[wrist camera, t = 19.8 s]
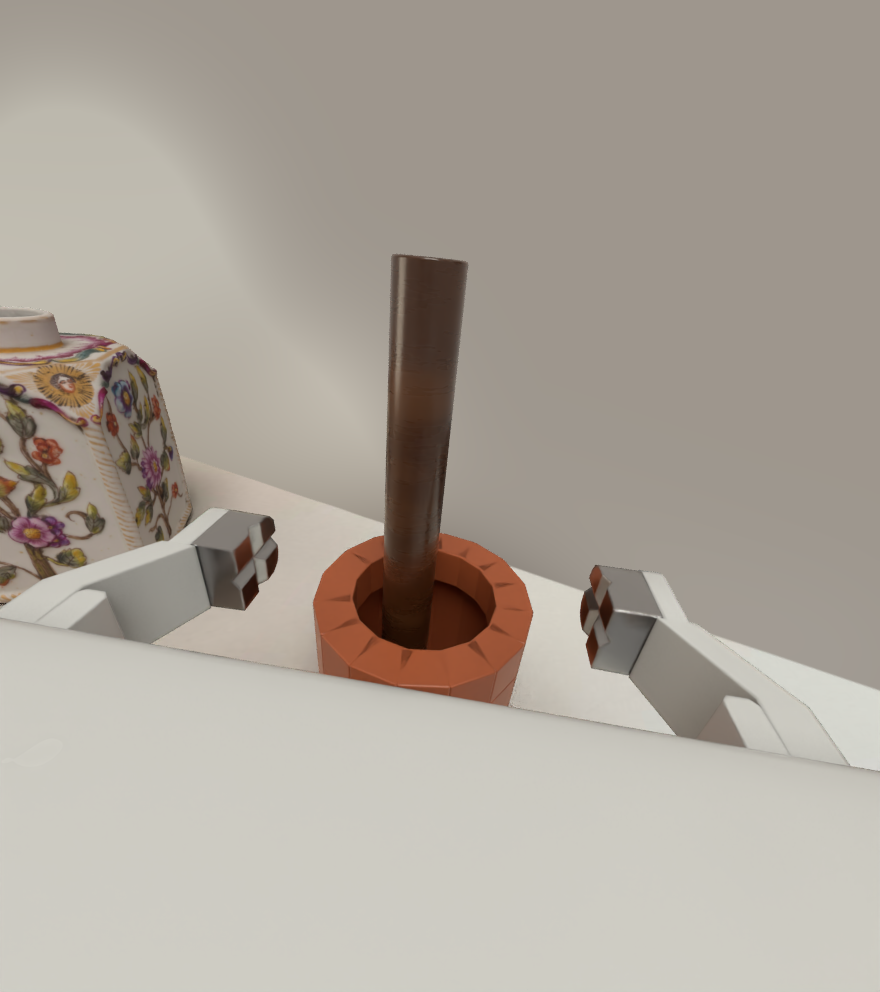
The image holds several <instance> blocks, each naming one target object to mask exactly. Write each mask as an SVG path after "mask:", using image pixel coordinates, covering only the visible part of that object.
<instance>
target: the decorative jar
mask: <svg viewBox="0 0 880 992" xmlns="http://www.w3.org/2000/svg"><path fill="white" fill-rule="evenodd" d="M191 511H192V506H191V502H190V499H189V495H188V490H187V486H186V482H185V477H184V473H183V469H182V464H181V461H180V457H179V453H178V450H177V445H176V441H175V438H174V434H173V431H172V427H171V423H170V419H169V416H168V412H167V409H166V405H165V401H164V399H163V395H162V392H161V389H160V385H159V382H158V378H157V371H156V370H155V369H154V368H152V367H150V365H149V364H148V363H146V362H145V361H144V360H142V359H141V358H140V357H139V356H137V355H136V354H135V353H134V352H133V351H131V349H129V348H128V347H126V346H124V345H121V344H119V343H117V342H116V341H114V340H111V339H108V338H105V337H103V336H95V335H86V334H70V333H59V332H58V329H57V326H56V322H55V319H54V316H53V314H52V313H50V312H47V311H44V310H39V309H33V308H23V307H2V306H0V603H8V602H10V601H11V600H13V599H14V598H16V597H17V596H19V595H20V594H22V593H23V592H25V591H26V590H28V589H29V588H30V587H32V586H33V585H35V584H36V583H38V582H39V581H41V580H42V579H45V578H49V577H52V576H55V575H58V574H61V573H64V572H67V571H70V570H73V569H76V568H79V567H82V566H85V565H88V564H92V563H95V562H98V561H101V560H104V559H107V558H110V557H113V556H116V555H119V554H122V553H125V552H128V551H131V550H135V549H138V548H141V547H144V546H147V545H150V544H153V543H156V542H159V541H169V540H171V539H172V538H173V537H174V536H176V535H177V534H178V533H179V532H180V531H182V530H183V528H184V526H185V524H186V522H187V519H188V517H189V515H190V513H191Z"/></svg>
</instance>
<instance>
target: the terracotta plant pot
mask: <svg viewBox="0 0 880 992" xmlns="http://www.w3.org/2000/svg"><path fill="white" fill-rule="evenodd" d="M383 562H384V536H378V537H374V538H372V539H370V540H368V541H365V542H363V543H361V544H359V545H357V546H355V547H352V548H350V549H348V550H347V551H345V552H344V553H343V554H342V555H341V556H340V557H339V558H338V559H337V560H336V561H335V562H334V563H333V564H332V565H331V566H330V567H329V568H328V569H327V570H326V571H325V572H324V573H323V575H322V578H321V581H320V584H319V586H318V589H317V592H316V595H315V598H314V601H313V609H314V620H315V632H316V643H317V655H318V667H319V673H321V674H327V675H332V676H338V677H344V678H349V679H355V680H361V681H366V682H372V683H378V684H384V685H389V686H395V687H401V688H406V689H412V690H418V691H423V692H429V693H435V694H440V695H446V696H452V697H458V698H463V699H469V700H475V701H480V702H486V703H492V704H498V705H503V706H508V705H509V702H510V698H511V694H512V691H513V687H514V683H515V680H516V676H517V673H518V669H519V665H520V662H521V658H522V655H523V651H524V647H525V644H526V640H527V636H528V632H529V628H530V624H531V621H532V617H533V610H532V607H531V604H530V600H529V597H528V593H527V590H526V587H525V584H524V583H523V581H522V580H521V579H520V578H519V577H518V576H517V575H516V573H515V572H514V571H513V570H512V569H511V568H510V566H509V565H508V564H507V563H506V562H505V561H504V560H503V559H502V558H500V557H498V556H497V555H495V554H493V553H492V552H490V551H488V550H487V549H485V548H483V547H482V546H480V545H478V544H477V543H474V542H471V541H467V540H464V539H460V538H458V537H454V536H451V535H448V534H442V533H439V542H438V552H437V561H436V570H435V580H434V589H433V598H432V608H431V617H430V626H429V636H428V645H427V650H419V649H407V648H404V647H402V646H399V645H397V644H394V643H392V642H389V641H386V640H384V639H381V638H382V600H383Z"/></svg>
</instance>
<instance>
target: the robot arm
mask: <svg viewBox="0 0 880 992" xmlns="http://www.w3.org/2000/svg"><path fill="white" fill-rule="evenodd" d="M274 532H275V525H274V520H273V519H272V518H271V517H270V516H265V515H259V514H254V513H248V512H242V511H236V510H230V509H223V508H216V507H215V508H209V509H208V510H207V511H205V512H204V513H203V514H202V515H200V516H199V517H198V518H197V519H195V520H194V521H193V522H192V523H190V524H189V525H188V526H187V527H185V528H184V529H183V530H182V531H180V532H179V533H178V534H177V535H176V536H174V537H173V538H172V539H171V540H169V541H159V542H156V543H153V544H150V545H147V546H144V547H141V548H138V549H135V550H131V551H128V552H125V553H122V554H119V555H116V556H113V557H110V558H107V559H104V560H101V561H98V562H95V563H92V564H88V565H85V566H82V567H79V568H76V569H73V570H70V571H67V572H64V573H61V574H58V575H55V576H52V577H49V578H45V579H42V580H41V581H39V582H38V583H36V584H35V585H33V586H32V587H30V588H29V589H28V590H26V591H25V592H23V593H22V594H20V595H19V596H17V597H16V598H14V599H13V600H11V601H10V602H8V603H7V604H5V605H4V606H2V607H1V608H0V992H880V771H875V770H870V769H864V768H858V767H852V766H850V764H849V763H848V762H847V760H846V759H845V757H844V756H843V754H842V753H841V752H840V750H839V749H838V747H837V746H836V745H835V743H834V742H833V740H832V739H831V738H830V736H829V735H828V733H827V732H826V730H825V729H824V728H823V726H822V725H821V723H820V722H819V721H818V719H817V718H816V716H815V715H814V713H813V712H812V711H811V709H810V708H809V707H808V706H806V705H805V704H804V703H802V702H801V701H800V700H798V699H797V698H796V697H794V696H793V695H792V694H790V693H789V692H788V691H786V690H785V689H784V688H782V687H781V686H780V685H778V684H777V683H776V682H774V681H773V680H772V679H770V678H769V677H768V676H766V675H765V674H764V673H762V672H761V671H760V670H758V669H757V668H756V667H754V666H753V665H751V664H750V663H749V662H747V661H746V660H745V659H743V658H742V657H741V656H739V655H738V654H737V653H735V652H734V651H733V650H731V649H730V648H729V647H727V646H726V645H725V644H723V643H722V642H721V641H719V640H718V639H717V638H715V637H714V636H713V635H711V634H710V633H709V632H707V631H706V630H704V629H703V628H702V627H701V626H699V625H698V624H695V623H690V622H689V620H688V618H687V617H686V615H685V613H684V611H683V609H682V608H681V606H680V604H679V602H678V600H677V598H676V597H675V595H674V593H673V591H672V589H671V587H670V586H669V584H668V582H667V580H666V579H665V577H664V575H662V574H661V573H658V572H649V571H641V570H638V571H636V570H629V569H622V568H614V567H607V566H600V565H595V567H594V568H593V570H592V572H591V574H590V578H589V579H590V582H591V586H592V587H591V588H589V589H588V590H586V591H585V592H584V595H583V598H582V601H581V609H580V620H581V626H582V630H583V631H584V632H585V633H586V634H587V635H588V636H589V637H588V640H587V643H586V648H587V652H588V657H589V661H590V665H591V668H593V669H598V670H603V671H609V672H614V673H619V674H624V675H629V678H630V679H631V681H632V682H633V683H634V684H635V685H636V687H637V688H638V689H639V690H640V691H641V693H642V694H643V695H644V696H645V698H646V699H647V700H648V701H649V702H650V704H651V705H652V706H653V707H654V708H655V710H656V711H657V712H658V713H659V715H660V716H661V717H662V718H663V719H664V721H665V722H666V723H667V724H668V725H669V727H670V728H671V729H672V730H673V732H674V733H675V734H676V735H677V736H675V735H669V734H663V733H658V732H652V731H646V730H640V729H635V728H629V727H623V726H618V725H612V724H606V723H600V722H595V721H589V720H583V719H578V718H572V717H566V716H560V715H555V714H549V713H543V712H538V711H532V710H526V709H520V708H515V707H509V706H503V705H498V704H492V703H486V702H480V701H475V700H469V699H463V698H458V697H452V696H446V695H440V694H435V693H429V692H423V691H418V690H412V689H406V688H401V687H395V686H389V685H384V684H378V683H372V682H366V681H361V680H355V679H349V678H344V677H338V676H332V675H327V674H321V673H315V672H309V671H303V670H298V669H292V668H286V667H280V666H275V665H269V664H263V663H257V662H251V661H246V660H240V659H234V658H228V657H222V656H217V655H211V654H205V653H200V652H194V651H188V650H183V649H177V648H171V647H166V646H160V645H155V644H151V643H153V642H154V641H156V640H158V639H159V638H161V637H163V636H164V635H166V634H168V633H169V632H171V631H173V630H175V629H176V628H178V627H180V626H181V625H183V624H185V623H186V622H188V621H190V620H191V619H193V618H195V617H196V616H198V615H200V614H201V613H203V612H205V611H206V610H208V609H210V608H211V606H214V607H221V608H229V609H236V610H243V611H245V610H246V608H247V607H248V606H249V604H250V603H251V602H252V600H253V599H254V598H255V597H256V595H257V594H258V593H259V588H258V585H259V584H261V583H263V582H265V581H267V580H268V579H269V578H270V577H271V575H272V574H273V572H274V570H275V567H276V564H277V562H278V546H277V544H276V543H275V541H274V540H273V539H272V538H271V536H272V534H273V533H274Z"/></svg>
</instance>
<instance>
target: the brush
mask: <svg viewBox="0 0 880 992" xmlns="http://www.w3.org/2000/svg"><path fill="white" fill-rule="evenodd" d="M467 270H468V263H467V262H466V261H460V260H452V259H443V258H433V257H424V256H413V255H402V254H393V255H392V258H391V293H390V294H391V295H390V296H391V297H390V332H389V371H388V411H387V447H386V485H385V486H386V487H385V523H384V562H383V600H382V638H381V639H384V640H386V641H389V642H392V643H394V644H397V645H399V646H402V647H404V648H407V649H419V650H427V645H428V636H429V626H430V617H431V608H432V598H433V589H434V580H435V570H436V561H437V552H438V542H439V533H440V523H441V514H442V504H443V495H444V486H445V477H446V467H447V458H448V448H449V439H450V429H451V420H452V410H453V401H454V392H455V383H456V373H457V363H458V355H459V345H460V336H461V327H462V317H463V308H464V299H465V298H464V297H465V289H466V280H467Z"/></svg>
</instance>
